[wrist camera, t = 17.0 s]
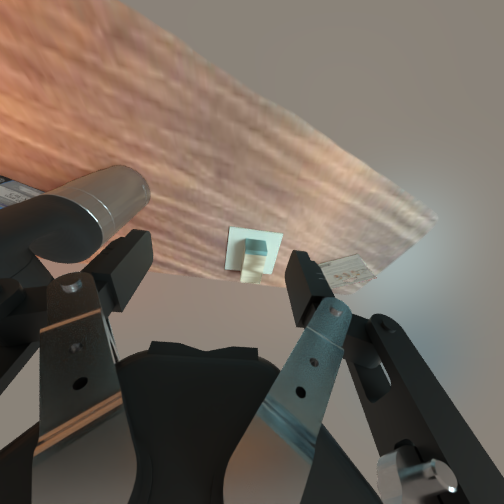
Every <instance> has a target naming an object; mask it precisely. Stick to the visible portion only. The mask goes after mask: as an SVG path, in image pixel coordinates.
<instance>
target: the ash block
mask: <svg viewBox="0 0 504 504" xmlns="http://www.w3.org/2000/svg"><path fill="white" fill-rule="evenodd" d="M267 253H268V251H267V245H266V241H265V240H256V239H248V238H246V240H245V246H244V252H243V259H242V265H241V279H240V282H244V283H255V284H260V281H261V277H262V273H263V269H264V265H265V261H266V257H267Z"/></svg>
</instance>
